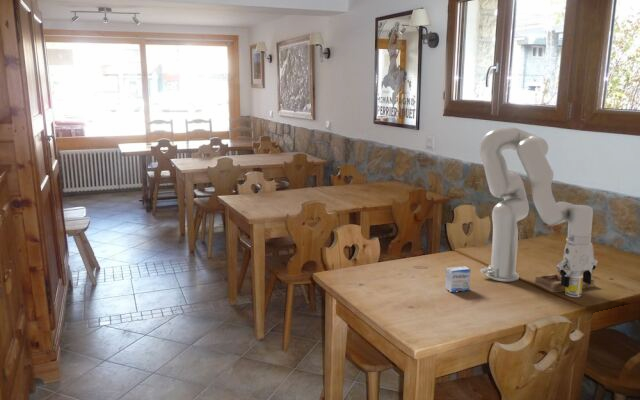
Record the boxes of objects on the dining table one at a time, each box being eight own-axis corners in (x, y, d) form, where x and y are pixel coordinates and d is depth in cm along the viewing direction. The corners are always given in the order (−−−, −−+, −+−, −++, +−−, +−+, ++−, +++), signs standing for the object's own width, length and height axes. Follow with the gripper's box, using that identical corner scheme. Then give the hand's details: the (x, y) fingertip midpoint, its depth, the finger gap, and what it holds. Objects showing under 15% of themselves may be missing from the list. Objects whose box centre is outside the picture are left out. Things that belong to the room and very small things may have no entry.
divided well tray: (552, 292, 192) (552, 284, 191) (535, 283, 201) (535, 276, 200) (593, 286, 197) (594, 279, 196) (575, 278, 206) (575, 271, 205)
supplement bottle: (575, 291, 192) (578, 265, 190) (584, 297, 187) (587, 270, 185) (561, 292, 192) (563, 266, 190) (569, 298, 186) (572, 271, 184)
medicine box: (450, 293, 192) (451, 271, 190) (444, 288, 196) (445, 267, 194) (469, 290, 194) (470, 269, 192) (463, 286, 198) (464, 265, 196)
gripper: (566, 244, 179) (563, 290, 182) (606, 239, 184) (603, 285, 187) (551, 239, 186) (548, 284, 189) (590, 234, 191) (587, 278, 194)
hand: (575, 284), depth 188 cm, fingers open, 9 cm apart
